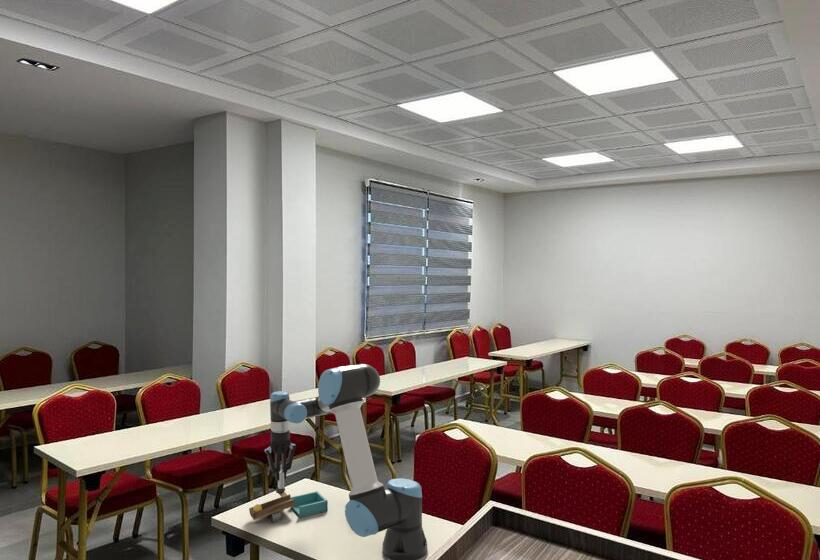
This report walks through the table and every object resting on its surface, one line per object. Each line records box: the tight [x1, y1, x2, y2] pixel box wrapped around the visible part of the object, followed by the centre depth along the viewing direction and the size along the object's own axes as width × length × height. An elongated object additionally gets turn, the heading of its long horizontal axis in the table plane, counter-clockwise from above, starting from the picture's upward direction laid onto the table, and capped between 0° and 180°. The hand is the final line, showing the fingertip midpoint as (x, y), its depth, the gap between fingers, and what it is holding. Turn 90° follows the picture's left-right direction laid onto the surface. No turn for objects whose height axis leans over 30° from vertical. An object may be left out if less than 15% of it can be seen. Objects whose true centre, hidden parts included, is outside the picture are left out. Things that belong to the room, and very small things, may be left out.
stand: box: [265, 511, 283, 524], centre depth 213 cm, size 10×4×3 cm, turn 31°
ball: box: [253, 504, 262, 512], centre depth 210 cm, size 3×3×3 cm
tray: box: [290, 490, 329, 518], centre depth 220 cm, size 11×11×4 cm
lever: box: [248, 486, 295, 521], centre depth 217 cm, size 17×17×4 cm
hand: (281, 487), depth 227 cm, fingers closed
